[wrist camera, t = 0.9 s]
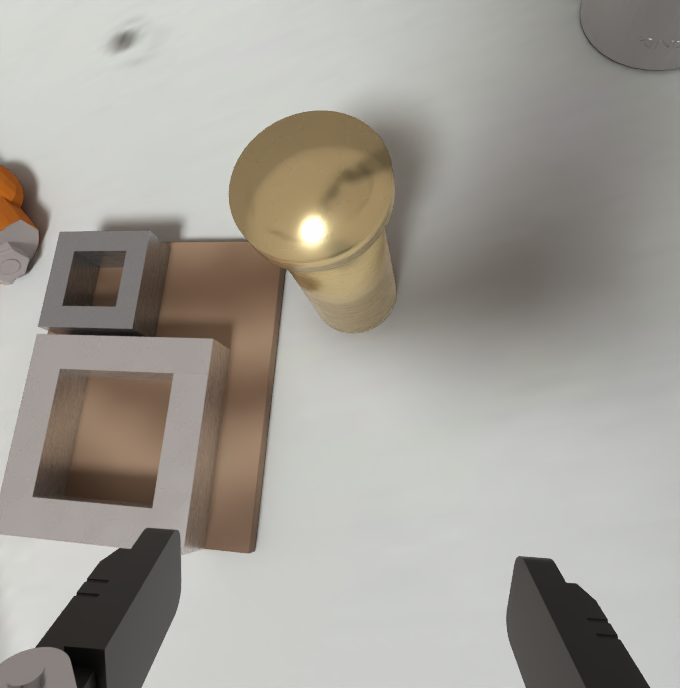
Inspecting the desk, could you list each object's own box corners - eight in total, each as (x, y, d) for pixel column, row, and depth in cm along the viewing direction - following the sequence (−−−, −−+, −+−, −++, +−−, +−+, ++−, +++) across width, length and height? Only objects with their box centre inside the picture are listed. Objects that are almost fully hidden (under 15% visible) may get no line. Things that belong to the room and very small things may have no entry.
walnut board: (77, 250, 35) (68, 243, 34) (287, 248, 33) (283, 241, 32) (17, 525, 31) (4, 526, 30) (254, 551, 28) (248, 553, 27)
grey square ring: (86, 249, 34) (59, 231, 32) (170, 248, 33) (150, 230, 31) (66, 338, 33) (37, 326, 30) (155, 340, 31) (132, 328, 29)
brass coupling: (307, 245, 32) (239, 115, 21) (410, 244, 31) (396, 105, 20) (298, 343, 31) (218, 260, 19) (406, 346, 30) (388, 259, 18)
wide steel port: (66, 344, 32) (36, 333, 30) (230, 350, 30) (213, 338, 28) (26, 529, 30) (-9, 533, 27) (204, 548, 28) (182, 554, 25)
